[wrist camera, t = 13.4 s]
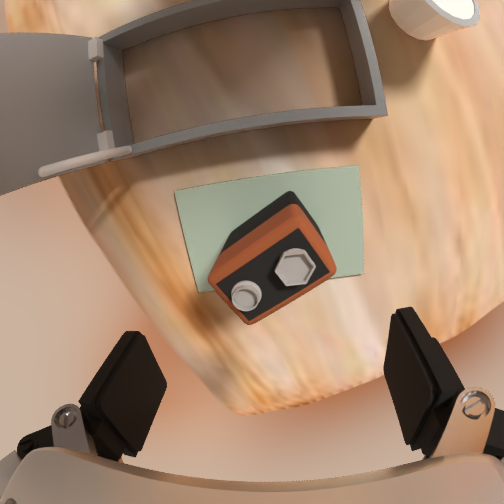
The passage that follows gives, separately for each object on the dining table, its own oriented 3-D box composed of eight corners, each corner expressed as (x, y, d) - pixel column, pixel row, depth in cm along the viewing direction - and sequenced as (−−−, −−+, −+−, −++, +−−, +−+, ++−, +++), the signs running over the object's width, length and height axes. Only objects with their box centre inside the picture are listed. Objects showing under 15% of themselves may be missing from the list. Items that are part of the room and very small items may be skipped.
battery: (320, 228, 24) (344, 281, 15) (257, 270, 26) (246, 338, 17) (291, 187, 23) (300, 217, 14) (227, 233, 25) (198, 287, 16)
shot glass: (449, 17, 15) (484, -3, 8) (434, 59, 17) (474, 42, 11) (392, -21, 14) (417, -53, 8) (373, 18, 17) (399, -14, 10)
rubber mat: (357, 165, 22) (358, 165, 22) (362, 271, 26) (364, 273, 25) (175, 190, 25) (174, 191, 24) (199, 290, 28) (198, 292, 28)
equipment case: (345, 1, 16) (379, -64, 6) (373, 118, 21) (438, 106, 10) (104, 52, 20) (29, 26, 9) (119, 161, 24) (37, 180, 14)
